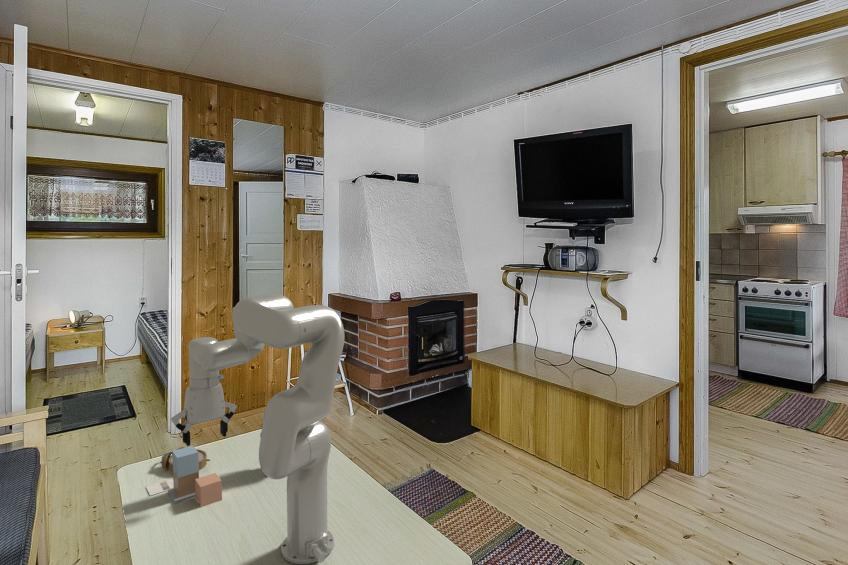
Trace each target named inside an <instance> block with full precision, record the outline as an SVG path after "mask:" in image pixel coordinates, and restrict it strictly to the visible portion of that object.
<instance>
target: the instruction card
mask: <svg viewBox="0 0 848 565" xmlns="http://www.w3.org/2000/svg"><path fill="white" fill-rule="evenodd" d="M145 488H146V491H147V493H148V495H149V497H152V496H155V495H157V494H162V493H164V492H168V489H171V488H174V486H173V478H171V479H168V480H164V481H161V482H158V483H154V484H151V485H148V486H145Z"/></svg>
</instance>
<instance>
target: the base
mask: <svg viewBox="0 0 848 565" xmlns="http://www.w3.org/2000/svg"><path fill="white" fill-rule="evenodd" d="M197 478H200V471H199V472H196V473H193V474H190V475H187V476H183V477H180V478H178V477H177V476H176V474H175V473H174V471H173V473H172V479H173V486H174V488H171V489H168V491H167V492H168V495H169V496H170V498H171V500H172V501H173V503H174V504H175V505H177V504H180V503H183V502H185V501H188V500H191V499H194V498H195V499H196V494H195V479H197Z"/></svg>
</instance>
